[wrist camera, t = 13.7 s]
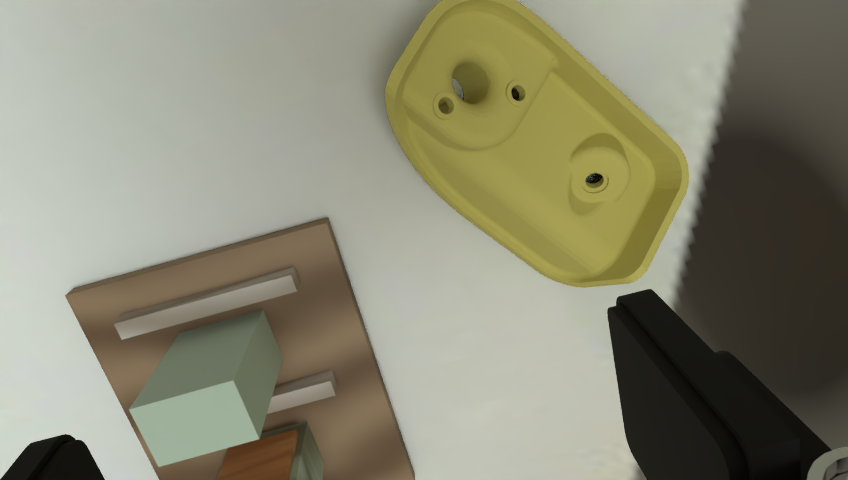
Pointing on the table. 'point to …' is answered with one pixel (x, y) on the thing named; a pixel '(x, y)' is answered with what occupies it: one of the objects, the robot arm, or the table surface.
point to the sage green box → (209, 389)
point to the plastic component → (534, 143)
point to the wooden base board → (297, 341)
